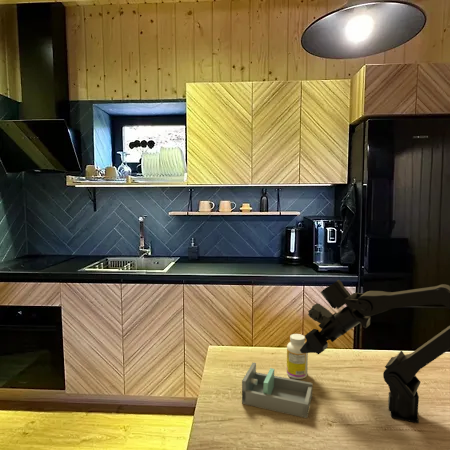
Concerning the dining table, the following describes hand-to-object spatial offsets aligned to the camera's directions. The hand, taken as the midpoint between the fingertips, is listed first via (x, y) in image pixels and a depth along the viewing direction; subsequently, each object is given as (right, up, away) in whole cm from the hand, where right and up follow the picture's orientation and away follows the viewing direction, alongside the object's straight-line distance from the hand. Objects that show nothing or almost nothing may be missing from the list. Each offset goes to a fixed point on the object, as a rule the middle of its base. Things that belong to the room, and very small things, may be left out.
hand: (307, 346), depth 111 cm
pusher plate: (-13, -10, -9) cm, 19 cm away
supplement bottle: (-3, -11, +3) cm, 11 cm away
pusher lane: (-11, -12, -10) cm, 19 cm away
